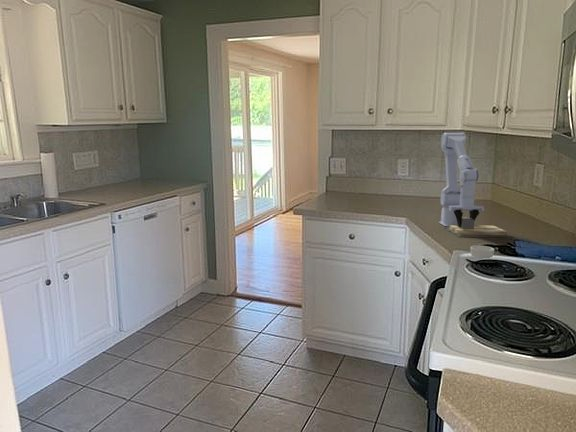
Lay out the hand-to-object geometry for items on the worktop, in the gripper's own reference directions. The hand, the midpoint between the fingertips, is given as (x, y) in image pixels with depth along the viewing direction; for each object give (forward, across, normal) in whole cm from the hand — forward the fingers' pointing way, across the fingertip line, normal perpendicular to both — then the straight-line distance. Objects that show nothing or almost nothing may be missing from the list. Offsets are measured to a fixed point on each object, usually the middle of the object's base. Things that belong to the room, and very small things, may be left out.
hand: (465, 226), depth 193 cm
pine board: (+3, +6, 0) cm, 6 cm away
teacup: (+3, -12, -45) cm, 47 cm away
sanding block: (+1, 0, 0) cm, 1 cm away
